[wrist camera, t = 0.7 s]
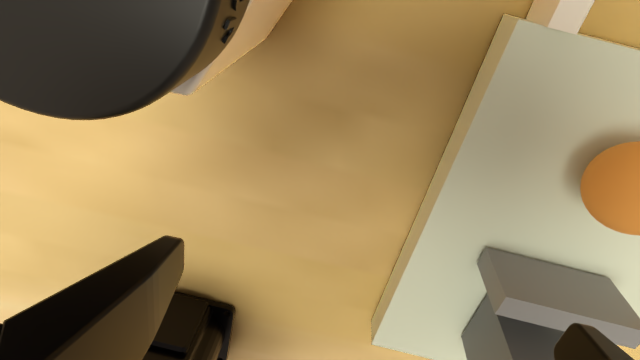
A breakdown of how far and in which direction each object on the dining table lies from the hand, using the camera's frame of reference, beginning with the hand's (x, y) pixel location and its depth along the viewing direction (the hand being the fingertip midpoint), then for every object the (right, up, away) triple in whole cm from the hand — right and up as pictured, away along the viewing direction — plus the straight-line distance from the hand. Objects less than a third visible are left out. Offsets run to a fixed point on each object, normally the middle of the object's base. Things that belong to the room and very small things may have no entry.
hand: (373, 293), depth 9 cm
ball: (+12, +2, +8) cm, 15 cm away
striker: (+10, -5, +14) cm, 18 cm away
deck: (+11, 0, +14) cm, 18 cm away
